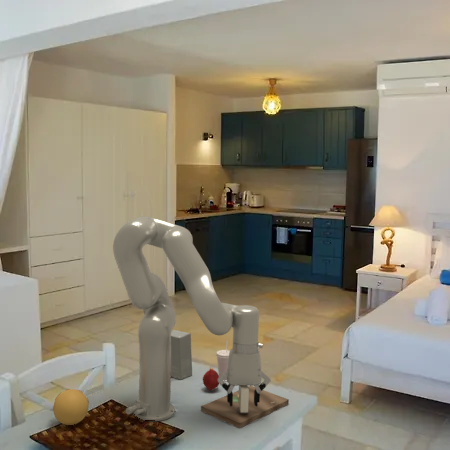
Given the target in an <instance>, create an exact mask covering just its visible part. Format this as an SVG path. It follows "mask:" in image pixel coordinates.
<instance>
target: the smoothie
mask: <svg viewBox="0 0 450 450" xmlns="http://www.w3.org/2000/svg"><path fill="white" fill-rule="evenodd" d="M228 342H229V341H228V340H226V341H225V344H226V345H225V349H221V350H220V349H219V350H217V351H216V353H215V354H216V355H215V356H216V357H217V358H216V359H217V368H218V369H217V370H218V371H217V372H218V375H219V377H220V376H221V375H222V374H224V373H225V372H226V371H227V366H228V358H229V353H230V350H231V349H228V346H229V345H228V344H229V343H228ZM224 380H227V381H228V379H227V378H226V379H224Z"/></svg>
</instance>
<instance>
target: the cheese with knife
mask: <svg viewBox="0 0 450 450" xmlns="http://www.w3.org/2000/svg"><path fill="white" fill-rule="evenodd" d="M248 386H249V385H238V390H239V395H238V405H239V407H238V413H240V414H247V413H248V399H249V389H248Z"/></svg>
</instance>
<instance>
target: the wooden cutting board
mask: <svg viewBox="0 0 450 450" xmlns="http://www.w3.org/2000/svg"><path fill="white" fill-rule="evenodd" d="M247 386H248V389H249V399H248V413H247V414H240V413H238V407H239V405H238V395H239V389H238V390H237V391H234V392H232V393H233V405H232V406H230V404H229V403H228V402H227V394H226V395H224V396H221V397H220V398H217V399H215V400H213V401H210V402H207V403H206V404H202V405H201V406H200V412H202V413H205V414H206V415H209V416H210V417H213V418H215V419H217V420H220V421H222V422H224V421H225V422H224V423H226V422H227V423H226V424H229V425H231V426H233V427H235V428H238V429H242V428H244V427H246V426H247V425H249V424H251V423H253V422H256V421H258V420H259V419H262V418H264V417H266V416H268V415H270V414H271V413H274V412H276V411H278V410H280V409H282V408H284V407H287V406H288V405H290V403H289V401H290V399H288V398H285V397H283V396H281V395H277V394H275V393H272V392H270V391H266V390H264V389H263V390H262V391H261V393H260V402H258V405H257V406H255V404H254V391H255V387H254V385H247Z"/></svg>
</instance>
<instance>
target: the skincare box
mask: <svg viewBox="0 0 450 450" xmlns="http://www.w3.org/2000/svg"><path fill="white" fill-rule="evenodd" d="M191 334H192V333H191V332H187V331H182V330H181V331H180V330H177V329H173V330H172V332H171V378H174V379H178V380H183V379H185V378H187V377H190V376H193V365H192V364H193V363H192V361H193V360H192V359H193V358H192V335H191Z"/></svg>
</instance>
